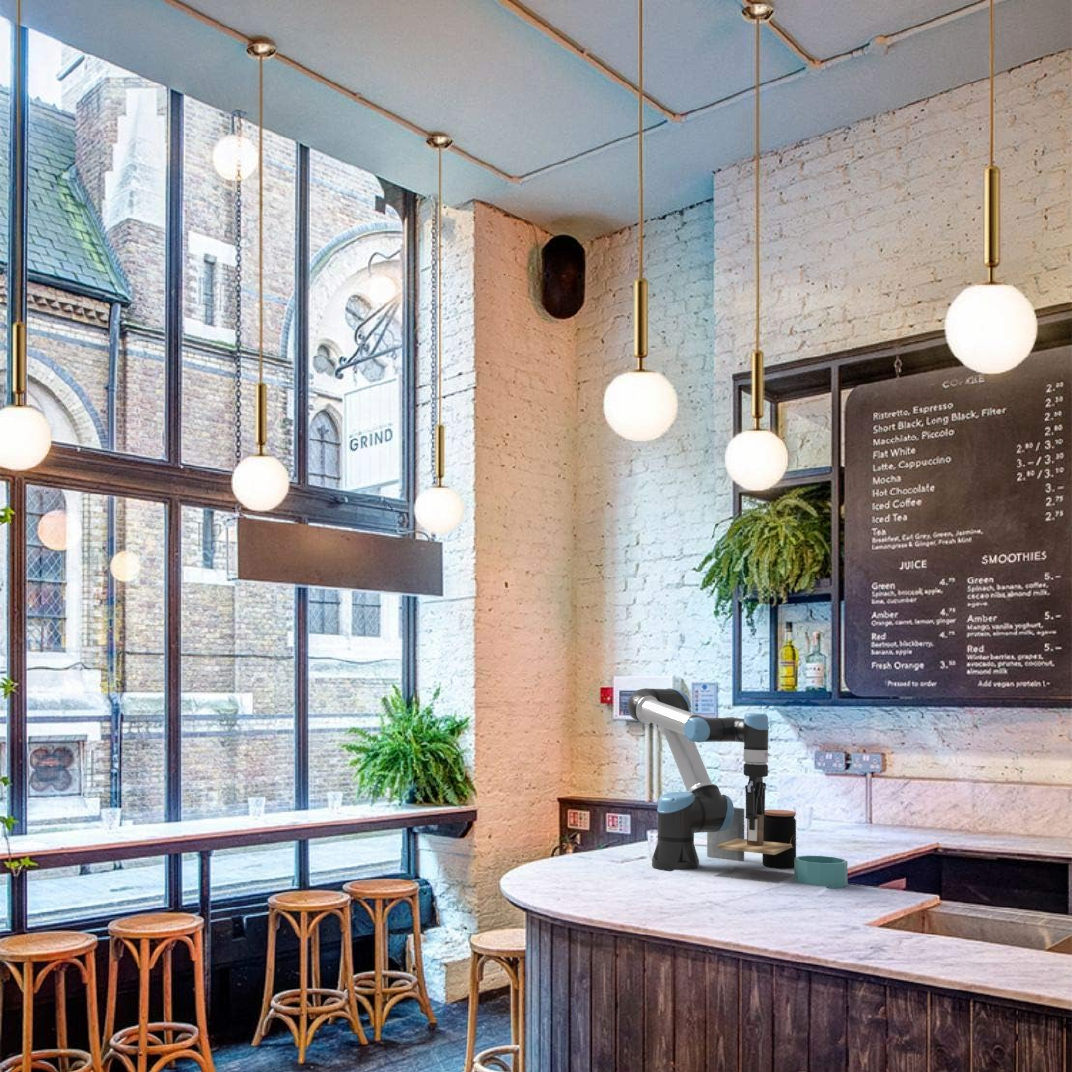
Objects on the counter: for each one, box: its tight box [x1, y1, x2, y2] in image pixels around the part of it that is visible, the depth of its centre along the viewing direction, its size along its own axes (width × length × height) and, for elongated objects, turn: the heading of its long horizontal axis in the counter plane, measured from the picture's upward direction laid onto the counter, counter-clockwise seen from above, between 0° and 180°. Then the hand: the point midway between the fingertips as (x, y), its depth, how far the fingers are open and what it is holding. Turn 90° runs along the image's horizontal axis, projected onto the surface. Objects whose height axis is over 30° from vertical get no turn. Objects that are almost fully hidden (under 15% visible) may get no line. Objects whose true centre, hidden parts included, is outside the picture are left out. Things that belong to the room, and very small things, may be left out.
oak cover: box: [717, 814, 792, 855], centre depth 359 cm, size 18×18×10 cm
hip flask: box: [706, 806, 745, 862], centre depth 391 cm, size 16×4×20 cm, turn 37°
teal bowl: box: [793, 855, 849, 889], centre depth 348 cm, size 15×15×7 cm
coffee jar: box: [762, 809, 797, 870], centre depth 376 cm, size 11×11×18 cm
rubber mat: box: [714, 866, 795, 884], centre depth 357 cm, size 20×20×1 cm
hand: (755, 839), depth 358 cm, fingers closed on oak cover, 4 cm apart
